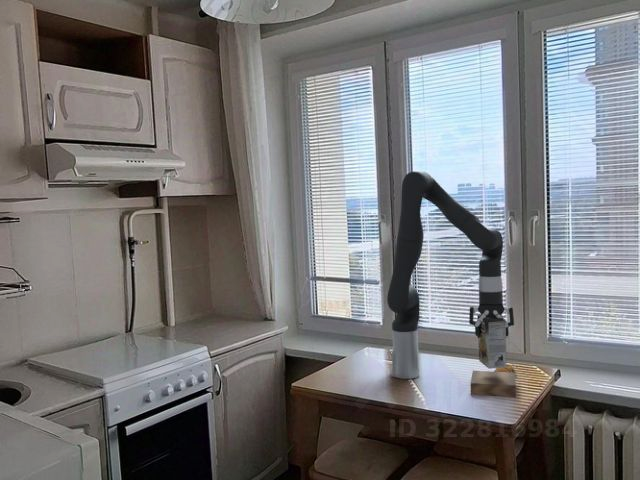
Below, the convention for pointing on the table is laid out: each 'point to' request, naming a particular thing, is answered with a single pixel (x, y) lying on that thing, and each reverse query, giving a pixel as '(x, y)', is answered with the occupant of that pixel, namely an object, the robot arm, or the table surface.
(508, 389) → the plinth
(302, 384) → the table surface
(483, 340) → the coffee box
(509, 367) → the pastry
